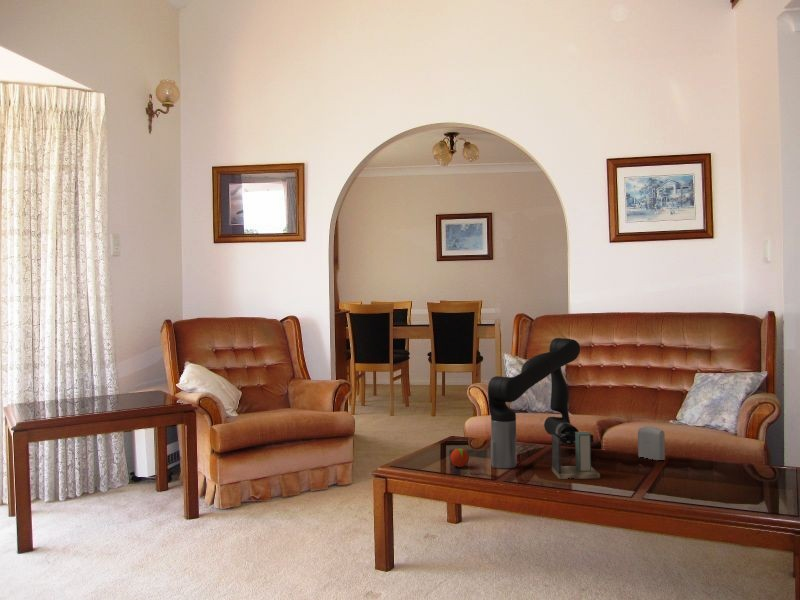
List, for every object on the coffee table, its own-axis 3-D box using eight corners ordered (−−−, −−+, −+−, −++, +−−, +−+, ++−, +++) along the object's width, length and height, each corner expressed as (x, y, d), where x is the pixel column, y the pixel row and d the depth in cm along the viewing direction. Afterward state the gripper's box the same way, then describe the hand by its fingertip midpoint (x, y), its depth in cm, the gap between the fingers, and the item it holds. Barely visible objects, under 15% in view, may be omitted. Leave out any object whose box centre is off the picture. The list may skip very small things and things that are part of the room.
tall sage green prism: (579, 471, 242) (579, 434, 242) (575, 468, 247) (575, 431, 247) (591, 471, 242) (590, 434, 242) (586, 468, 247) (586, 431, 247)
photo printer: (636, 457, 269) (635, 425, 270) (642, 455, 272) (642, 424, 272) (660, 462, 262) (660, 429, 262) (666, 460, 264) (666, 427, 264)
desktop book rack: (559, 478, 239) (558, 439, 239) (551, 470, 251) (551, 433, 251) (600, 478, 239) (599, 439, 239) (590, 469, 251) (589, 432, 251)
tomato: (472, 469, 255) (471, 449, 255) (453, 470, 253) (453, 450, 253) (466, 464, 262) (466, 445, 262) (448, 465, 261) (448, 446, 261)
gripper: (548, 423, 269) (557, 431, 253) (585, 423, 269) (597, 431, 252) (548, 443, 269) (558, 452, 252) (585, 442, 269) (597, 451, 252)
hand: (577, 441), depth 252 cm, fingers open, 8 cm apart
